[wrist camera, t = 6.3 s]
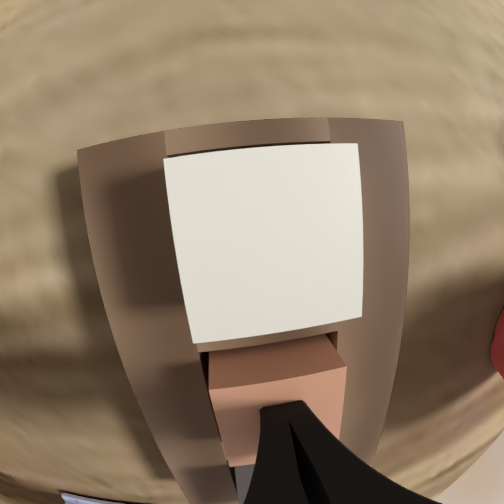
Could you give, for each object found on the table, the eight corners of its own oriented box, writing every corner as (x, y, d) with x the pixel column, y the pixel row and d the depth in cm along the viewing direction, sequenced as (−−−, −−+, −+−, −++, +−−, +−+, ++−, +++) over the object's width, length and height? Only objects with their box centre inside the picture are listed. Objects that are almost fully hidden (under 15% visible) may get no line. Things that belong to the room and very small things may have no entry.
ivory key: (199, 294, 9) (193, 343, 6) (181, 165, 8) (163, 159, 5) (322, 277, 10) (361, 316, 7) (314, 153, 9) (357, 143, 6)
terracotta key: (225, 414, 12) (229, 466, 9) (209, 338, 11) (208, 389, 8) (316, 399, 12) (337, 446, 9) (317, 321, 11) (347, 366, 8)
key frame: (194, 478, 14) (193, 510, 12) (106, 155, 10) (77, 149, 7) (353, 451, 15) (366, 479, 12) (368, 130, 10) (403, 121, 8)
